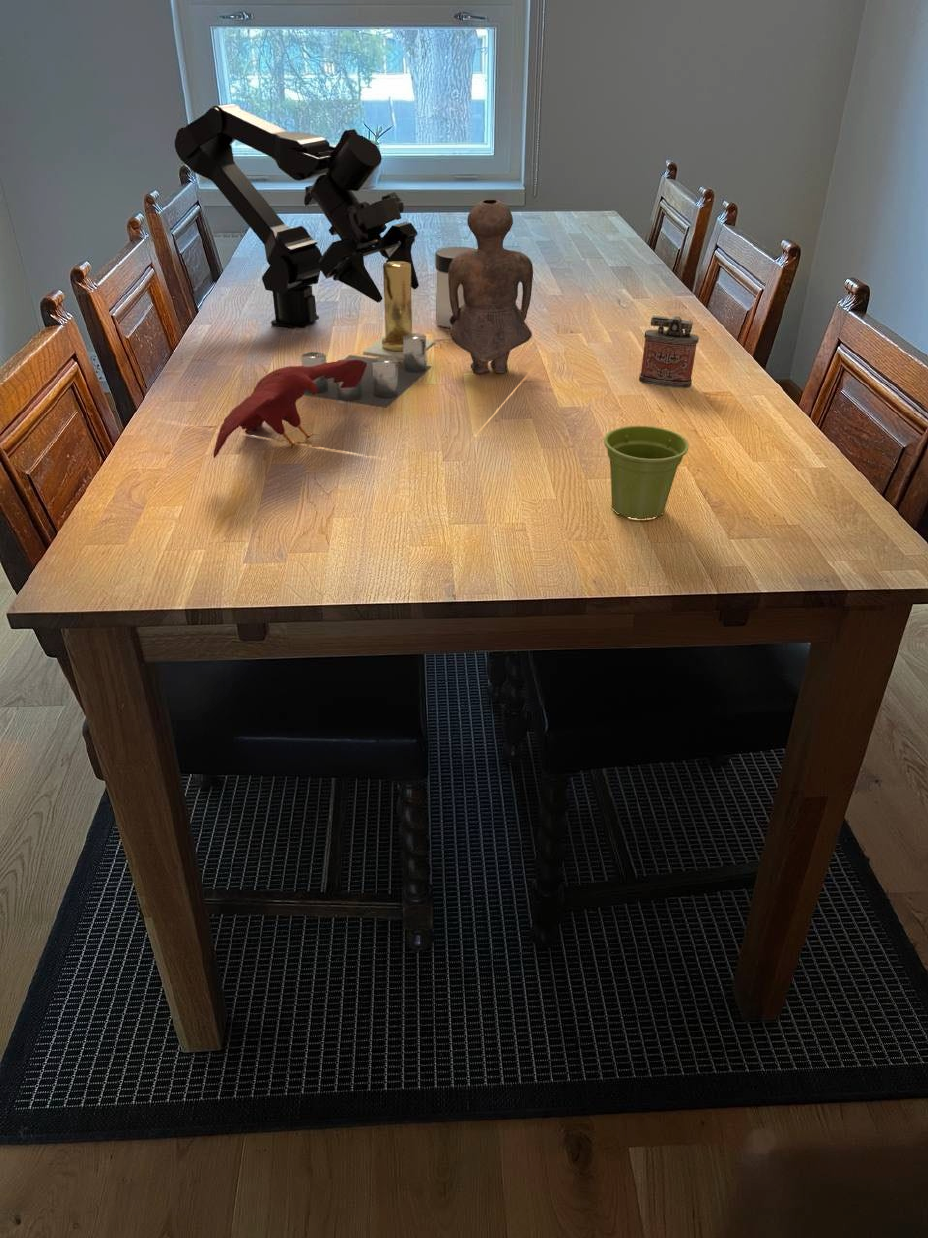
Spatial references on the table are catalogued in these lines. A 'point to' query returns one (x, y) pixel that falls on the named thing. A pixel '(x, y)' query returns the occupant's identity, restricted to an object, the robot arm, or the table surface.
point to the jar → (446, 284)
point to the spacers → (377, 369)
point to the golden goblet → (397, 304)
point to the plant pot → (643, 468)
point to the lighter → (669, 353)
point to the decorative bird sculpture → (285, 397)
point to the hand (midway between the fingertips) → (399, 294)
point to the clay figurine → (490, 291)
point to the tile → (380, 351)
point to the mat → (368, 386)
